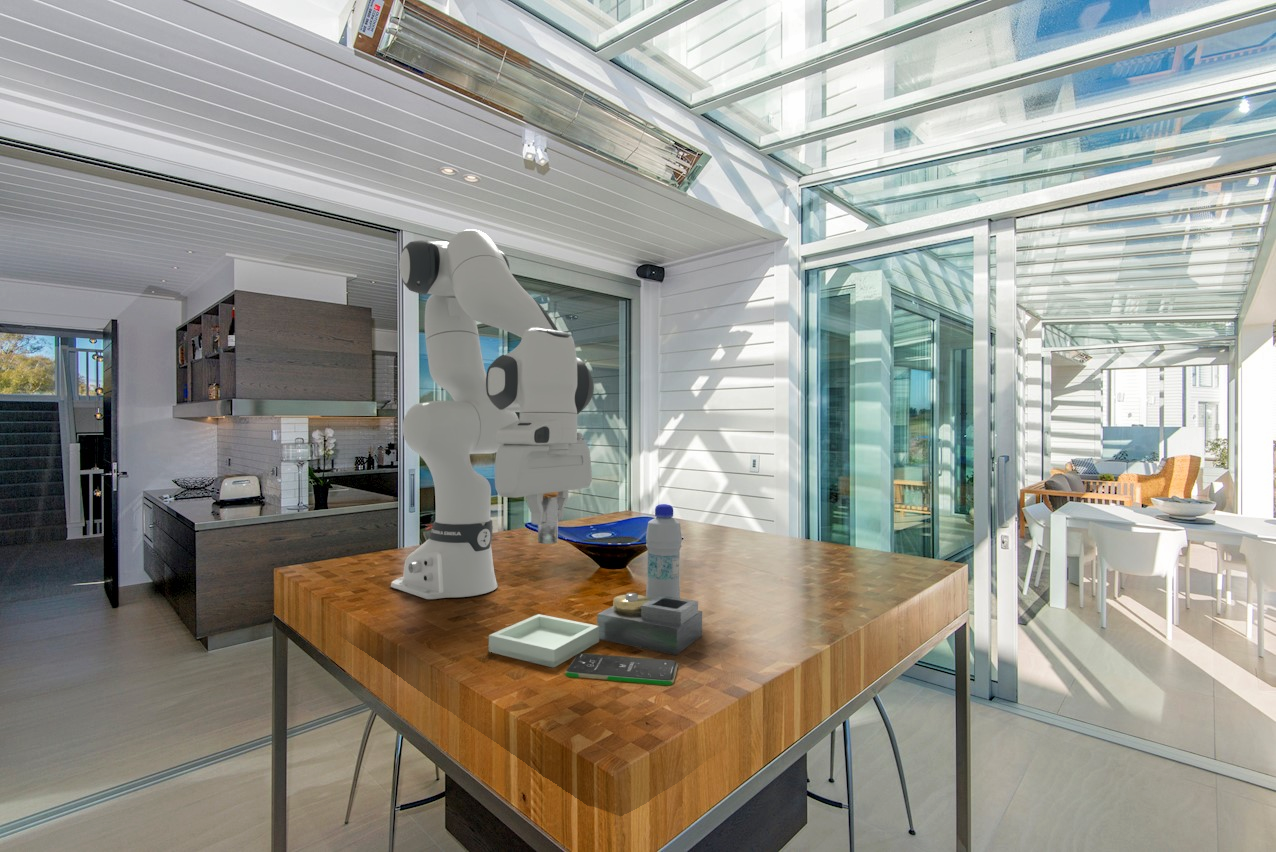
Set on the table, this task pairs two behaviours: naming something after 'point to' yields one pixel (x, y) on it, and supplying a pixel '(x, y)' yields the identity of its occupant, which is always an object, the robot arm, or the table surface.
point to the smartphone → (623, 669)
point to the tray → (544, 640)
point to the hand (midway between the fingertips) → (547, 522)
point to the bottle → (663, 554)
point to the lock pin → (549, 519)
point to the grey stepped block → (651, 622)
